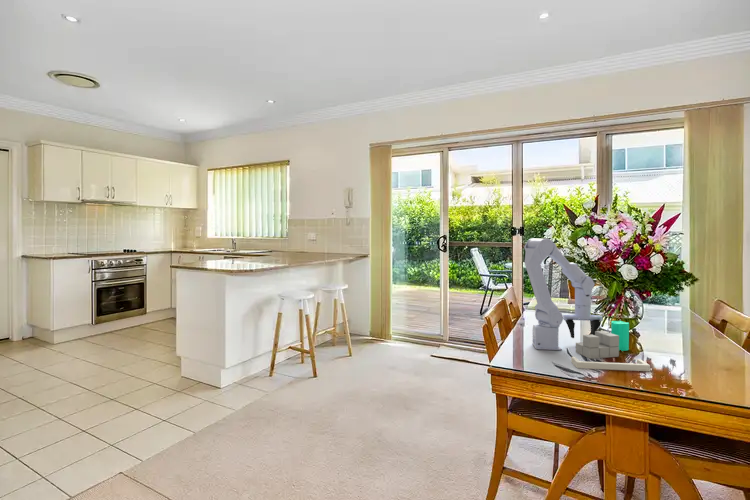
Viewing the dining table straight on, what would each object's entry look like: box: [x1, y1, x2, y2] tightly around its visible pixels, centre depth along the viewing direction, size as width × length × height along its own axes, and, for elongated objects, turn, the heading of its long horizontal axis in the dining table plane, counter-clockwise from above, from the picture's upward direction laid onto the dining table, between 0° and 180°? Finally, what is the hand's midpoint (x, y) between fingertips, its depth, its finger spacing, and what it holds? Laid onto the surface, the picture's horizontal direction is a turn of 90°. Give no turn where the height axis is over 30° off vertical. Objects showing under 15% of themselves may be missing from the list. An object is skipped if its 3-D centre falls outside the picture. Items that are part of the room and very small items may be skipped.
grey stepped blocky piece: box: [575, 330, 620, 360], centre depth 151 cm, size 12×12×8 cm
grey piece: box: [570, 356, 651, 372], centre depth 136 cm, size 22×6×2 cm, turn 80°
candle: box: [610, 320, 630, 352], centre depth 156 cm, size 6×6×12 cm
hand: (582, 337), depth 162 cm, fingers open, 7 cm apart
